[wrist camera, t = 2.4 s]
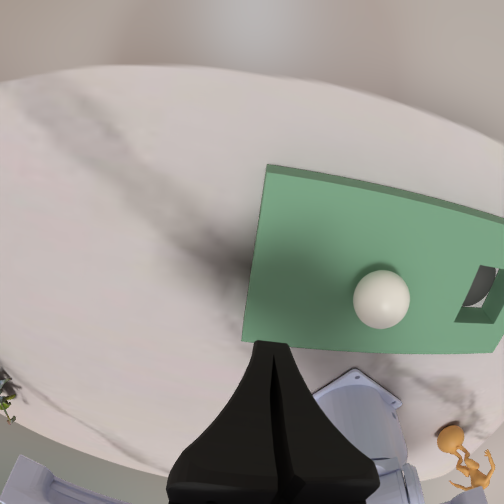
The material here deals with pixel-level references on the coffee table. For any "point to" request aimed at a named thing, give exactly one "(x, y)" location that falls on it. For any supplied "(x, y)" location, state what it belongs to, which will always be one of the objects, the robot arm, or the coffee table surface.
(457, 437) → the figurine
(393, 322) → the ball
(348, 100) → the coffee table surface
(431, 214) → the putting mat
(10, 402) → the passion flower
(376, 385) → the robot arm
